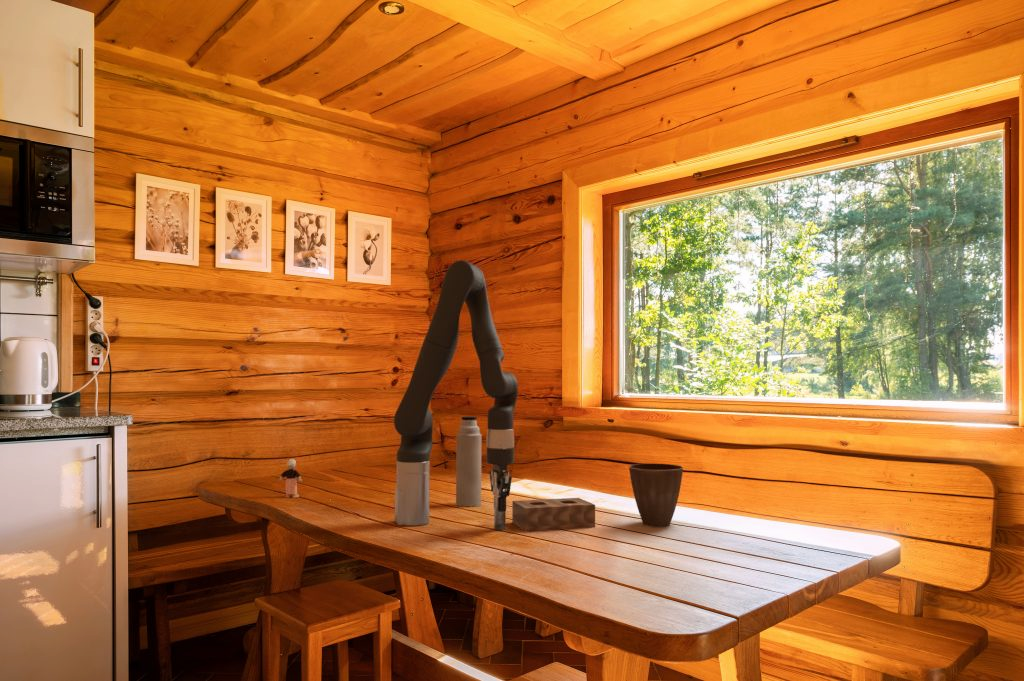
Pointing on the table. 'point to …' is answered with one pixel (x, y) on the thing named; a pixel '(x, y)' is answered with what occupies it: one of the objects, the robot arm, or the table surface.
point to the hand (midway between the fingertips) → (500, 510)
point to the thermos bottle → (468, 463)
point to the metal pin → (498, 514)
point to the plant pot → (656, 491)
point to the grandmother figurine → (291, 479)
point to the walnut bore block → (553, 514)
